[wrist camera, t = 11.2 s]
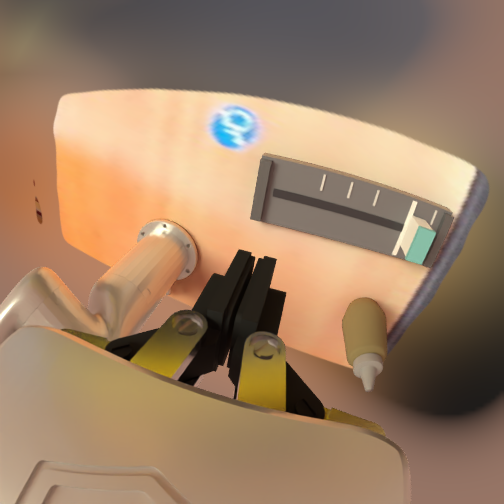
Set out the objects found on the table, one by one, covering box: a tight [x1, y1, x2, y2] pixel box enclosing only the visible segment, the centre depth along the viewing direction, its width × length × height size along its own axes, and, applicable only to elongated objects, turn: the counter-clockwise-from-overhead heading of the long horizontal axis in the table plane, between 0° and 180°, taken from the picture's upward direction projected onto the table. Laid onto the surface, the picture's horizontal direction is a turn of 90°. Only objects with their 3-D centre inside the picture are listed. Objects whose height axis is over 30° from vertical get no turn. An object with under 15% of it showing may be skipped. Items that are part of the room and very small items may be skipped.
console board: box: [250, 153, 454, 268], centre depth 40 cm, size 10×30×3 cm, turn 80°
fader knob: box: [400, 216, 436, 265], centre depth 36 cm, size 5×3×4 cm, turn 170°
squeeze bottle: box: [342, 298, 387, 392], centre depth 42 cm, size 8×8×18 cm
